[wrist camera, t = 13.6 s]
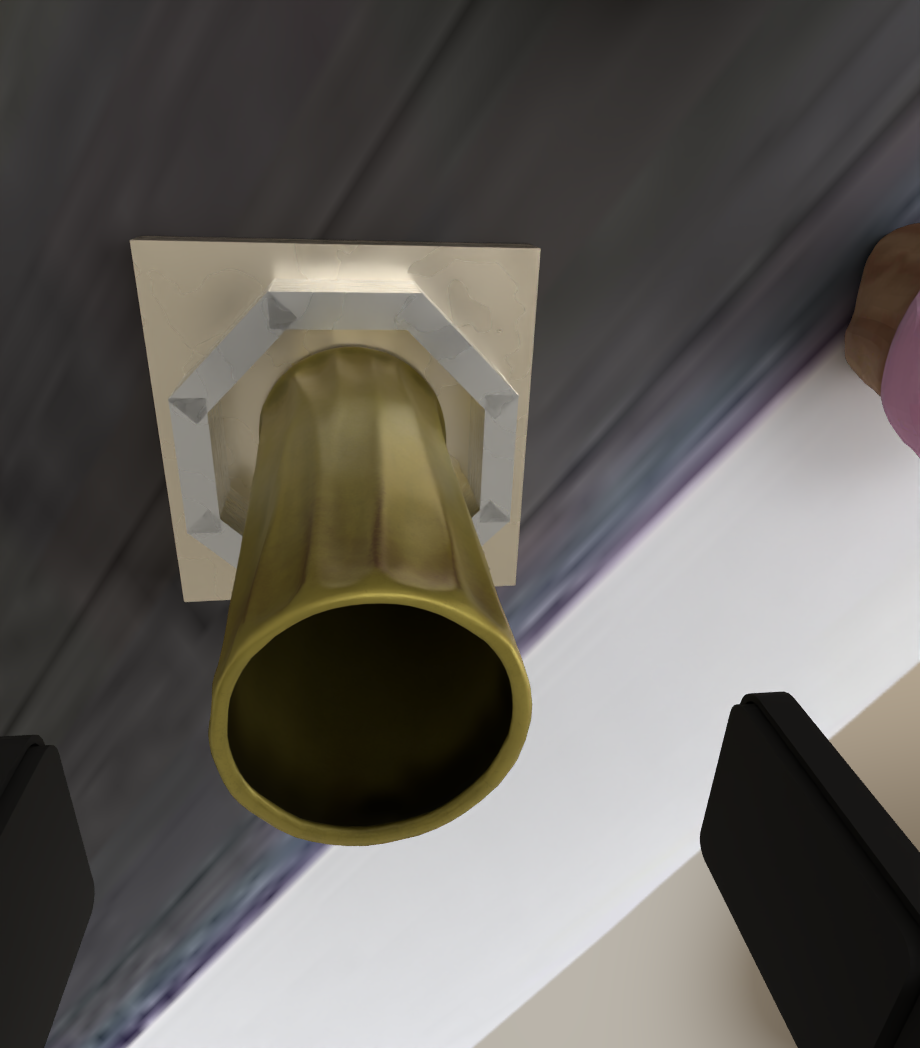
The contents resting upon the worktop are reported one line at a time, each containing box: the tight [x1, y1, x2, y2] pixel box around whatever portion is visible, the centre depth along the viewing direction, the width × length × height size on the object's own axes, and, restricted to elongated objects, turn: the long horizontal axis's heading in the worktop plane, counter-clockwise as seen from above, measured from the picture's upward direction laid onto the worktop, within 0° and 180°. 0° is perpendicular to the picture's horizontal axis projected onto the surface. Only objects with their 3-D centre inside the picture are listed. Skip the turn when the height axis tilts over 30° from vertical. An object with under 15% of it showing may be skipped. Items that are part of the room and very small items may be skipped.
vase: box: [208, 347, 532, 846], centre depth 18 cm, size 6×6×14 cm
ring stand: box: [130, 236, 541, 602], centre depth 24 cm, size 12×12×4 cm
